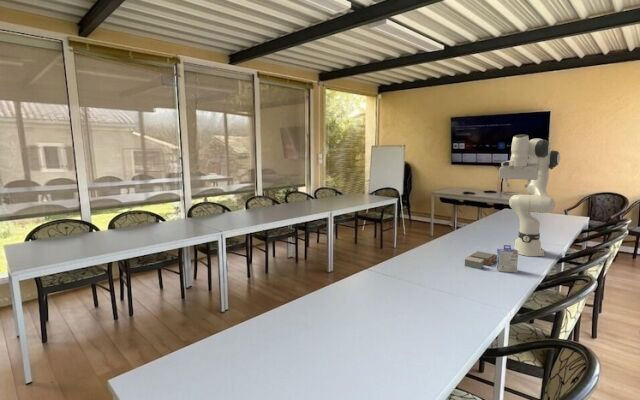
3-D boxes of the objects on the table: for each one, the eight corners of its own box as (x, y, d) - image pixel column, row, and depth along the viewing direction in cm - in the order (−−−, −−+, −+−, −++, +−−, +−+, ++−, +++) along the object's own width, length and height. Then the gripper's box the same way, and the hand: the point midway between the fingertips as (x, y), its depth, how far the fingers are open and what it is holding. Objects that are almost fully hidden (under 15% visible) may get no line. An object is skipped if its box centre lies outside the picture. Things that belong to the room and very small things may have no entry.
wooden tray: (476, 256, 225) (477, 250, 224) (496, 260, 216) (497, 254, 216) (468, 261, 215) (468, 255, 214) (488, 266, 206) (489, 259, 206)
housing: (468, 264, 211) (468, 256, 210) (483, 267, 204) (483, 259, 204) (464, 266, 207) (465, 258, 206) (480, 269, 201) (480, 261, 200)
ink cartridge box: (514, 269, 200) (516, 245, 198) (517, 272, 195) (519, 247, 193) (495, 268, 202) (497, 244, 200) (498, 271, 197) (500, 246, 195)
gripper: (541, 163, 195) (539, 187, 197) (501, 162, 208) (499, 185, 210) (538, 163, 190) (536, 188, 192) (498, 163, 204) (496, 186, 206)
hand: (517, 187), depth 202 cm, fingers open, 8 cm apart
